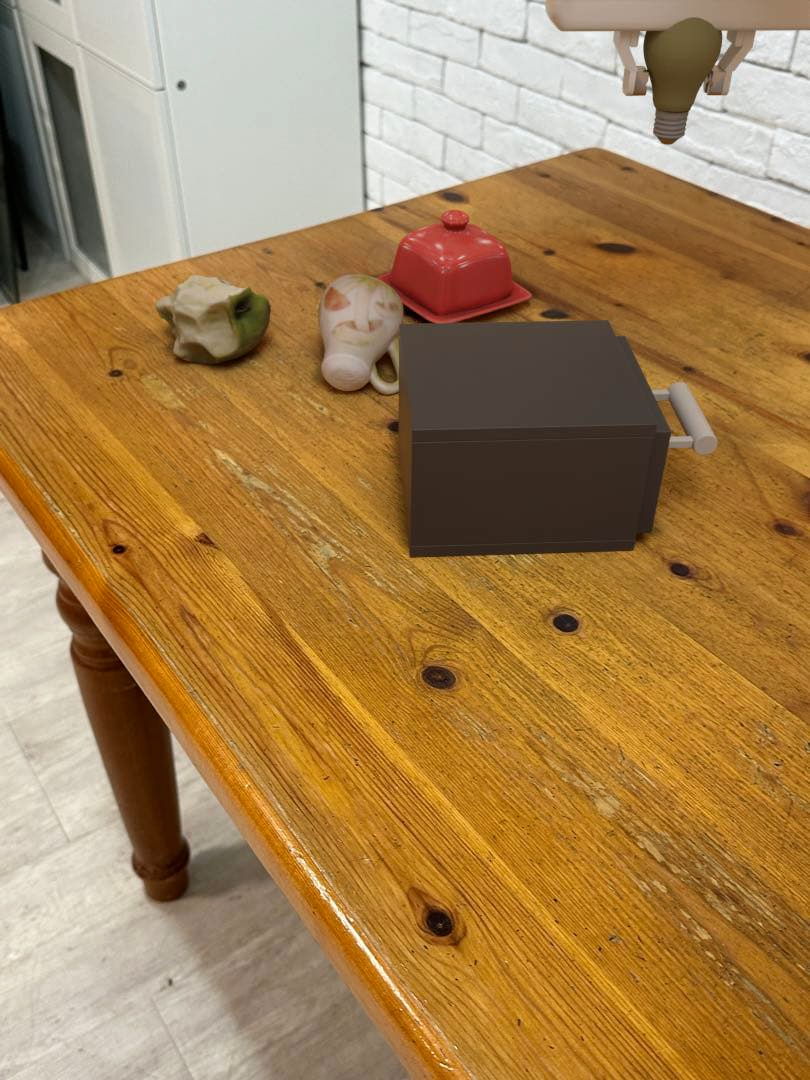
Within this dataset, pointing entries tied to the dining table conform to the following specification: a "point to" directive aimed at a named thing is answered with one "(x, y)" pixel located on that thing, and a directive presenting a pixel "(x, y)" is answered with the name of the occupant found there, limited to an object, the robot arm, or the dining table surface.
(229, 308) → the fruit
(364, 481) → the dining table surface
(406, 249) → the butter dish
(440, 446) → the cabinet
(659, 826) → the dining table surface
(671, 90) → the light bulb
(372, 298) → the mug
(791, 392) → the dining table surface
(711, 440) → the drawer
